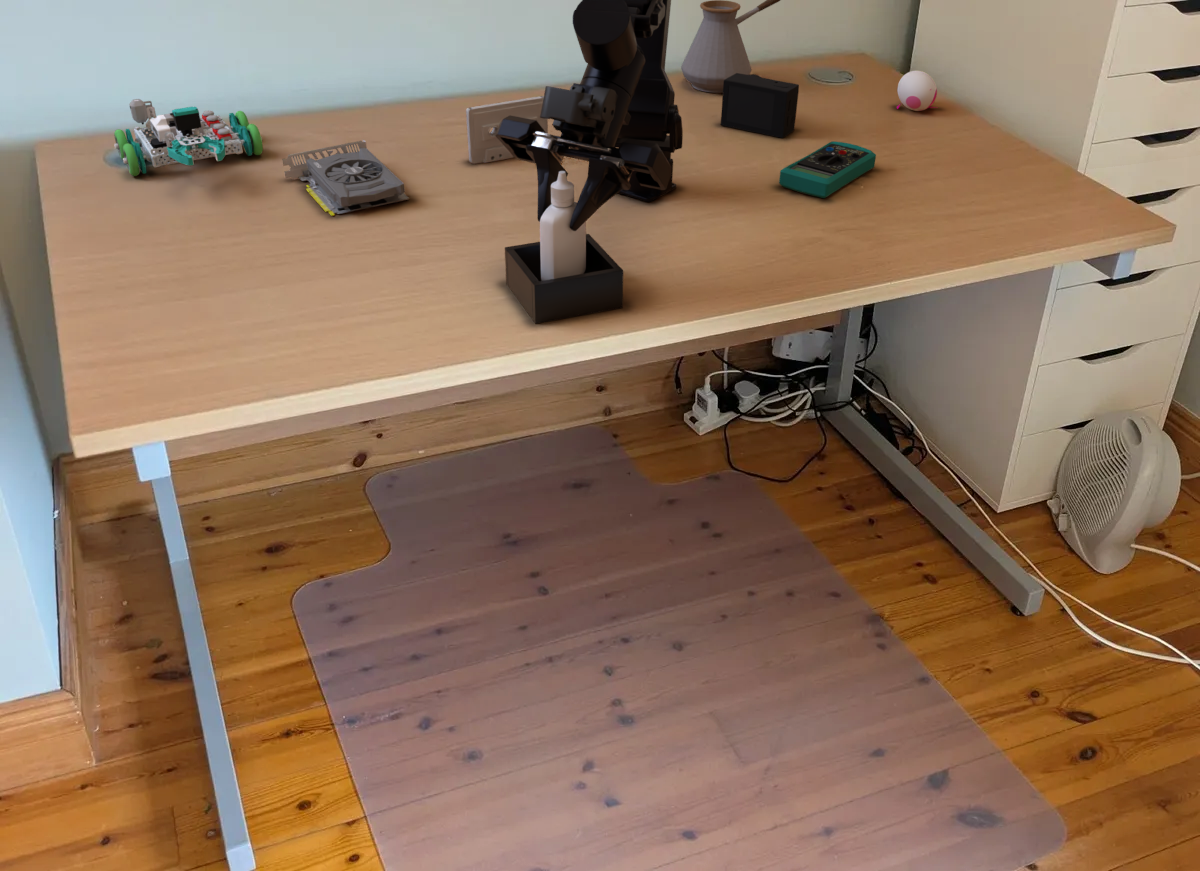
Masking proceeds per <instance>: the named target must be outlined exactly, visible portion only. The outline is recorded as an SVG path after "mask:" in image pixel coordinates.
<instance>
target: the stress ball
mask: <svg viewBox="0 0 1200 871" xmlns="http://www.w3.org/2000/svg"><path fill="white" fill-rule="evenodd" d="M898 81H899V82H898V84H897V96H898V99H899V101H900V104H898V105H896V109H897V110H899V108H900V107H901V105H903V106H904V107H905V108H907V109H909V110H910V111H915V112H921V111H925V110H927V109H937V107H935V106H932V105H934V102H935V100H936V99H937V94H938V88H937V84H936V82H935V80H934V79H933V77H932V76H931V75H930V74H928V73H927V72H924V71H922V70H910V71H908V72H906V73H905V74H904V75H902V77H901V78H900V80H898Z"/></svg>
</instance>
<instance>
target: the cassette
mask: <svg viewBox="0 0 1200 871" xmlns="http://www.w3.org/2000/svg"><path fill="white" fill-rule="evenodd" d="M543 98H544V95H539V96H533V97H527V98H520V99H513V100H507V101H502V102H496V103H488V104H483V105H476V106H470V107H467V108H466V109H465V115H466V116H465V117H466V130H467V132H466V134H467V149H468V150H467V151H468V161H469V163H471V164H473V165H476V164H481V163H482V164H483V163H484V164H485V163H490V162H497V161H503V160H507V159H508V160H509V159H513V158H515V157H514V156H513V155H512V154H511V153H510V152H509V151H508V150H507V149H506V147H505V146H504V145H503V144H502V143H501V142H500V141H499V140H498V138H497V137H496V136H495V135H496V133H497V130H498V127H499V125H500V122H501V121H502V120H503V119H504V118H506V117H508V116H509V115H511V116H516V117H522V118H527V119H532V120H537V122H538V123H539V124H540V125H541V127H542V128H543V129H544V131H545V132H546V133H548V134H549V125H548V124H549V123H548V122H549V121H548V120H549V119H546V118H545V119H543V118H540V114H541V109H542V104H543ZM491 129H492V130H491Z"/></svg>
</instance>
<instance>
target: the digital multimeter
mask: <svg viewBox="0 0 1200 871" xmlns="http://www.w3.org/2000/svg"><path fill="white" fill-rule="evenodd" d="M876 159H877V154H876V153H875V152H874V151H872V150H871V149H868V148H866V147H863V146H860V145H857V144H853V143H849V142H843V141H837V140H836V141H833V140H831V141H829V142H828V143H826V144H825V145H822V146H821V147H819V148H818V149H816V150H815V151H813V152H811V153H810V154H807V155H805V156H804V157H802V158H800V159H798V160H796V161H795V162H792V163H791V164H788V165H786V166H785V167H783V168H782V169H781V170H780V171H779V180H778V184H779V185H780V186H781V187H783V188H784V189H788V190H791V191H795V192H798V193H801V194H805V195H808V196H812V197H815V198H821V199H825V198H827V197H829V196H830V195H832V194H833V193H835V192H837V191H839V190H840V189H842V188H843V187H845V186H847V185H848V184H850V183H852V182H853V181H855V180H856V179H857V178H859V177H861V176H862V175H864V174H866V173H867V172H869V171H870V170H872V169H874V168H875V165H876Z"/></svg>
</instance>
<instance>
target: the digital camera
mask: <svg viewBox="0 0 1200 871" xmlns="http://www.w3.org/2000/svg"><path fill="white" fill-rule="evenodd" d="M799 90H800V84H798V83H793V82H787V81H782V80H777V79H771V78H767V77H762V76H760V75H759V74H755V73H750V75H745V74H740V73H736V74H734V75H732V76H730V77H728V78H727V79H725V80H724V84H723V92H722V97H721V98H722V100H721V101H722V102H721V112H720V113H721V117H720V126H723V127H728V128H731V129H737V130H741V131H742V130H743V131H747V132H751V133H756V134H762V135H766V136H770V137H775V138H781V139H784V138H785V137H787V136H789V134H791V133H793V132H794V131H795V126H796V118H797V111H798V110H797V108H798V100H799Z"/></svg>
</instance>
